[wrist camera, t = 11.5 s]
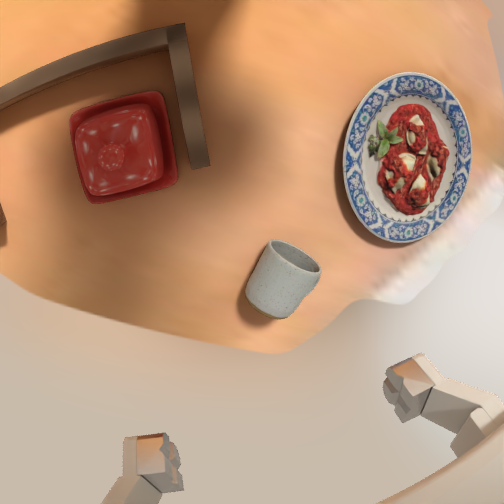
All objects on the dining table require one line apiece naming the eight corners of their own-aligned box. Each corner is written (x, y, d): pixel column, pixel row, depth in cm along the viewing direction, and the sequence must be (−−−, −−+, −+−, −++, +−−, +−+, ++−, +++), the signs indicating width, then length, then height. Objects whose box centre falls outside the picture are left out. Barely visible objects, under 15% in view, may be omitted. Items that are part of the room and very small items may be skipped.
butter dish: (164, 87, 31) (160, 81, 24) (180, 182, 37) (181, 203, 29) (70, 113, 30) (42, 116, 22) (90, 204, 35) (70, 230, 28)
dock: (-34, 114, 25) (-48, 117, 22) (183, 30, 29) (184, 22, 26) (-4, 224, 32) (-16, 235, 29) (207, 160, 36) (210, 165, 33)
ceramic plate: (480, 150, 44) (492, 154, 41) (405, 263, 50) (415, 272, 48) (400, 37, 33) (413, 35, 31) (298, 175, 39) (307, 180, 37)
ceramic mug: (236, 284, 44) (249, 318, 37) (262, 232, 42) (280, 259, 35) (299, 301, 48) (319, 333, 41) (325, 256, 46) (351, 283, 39)
